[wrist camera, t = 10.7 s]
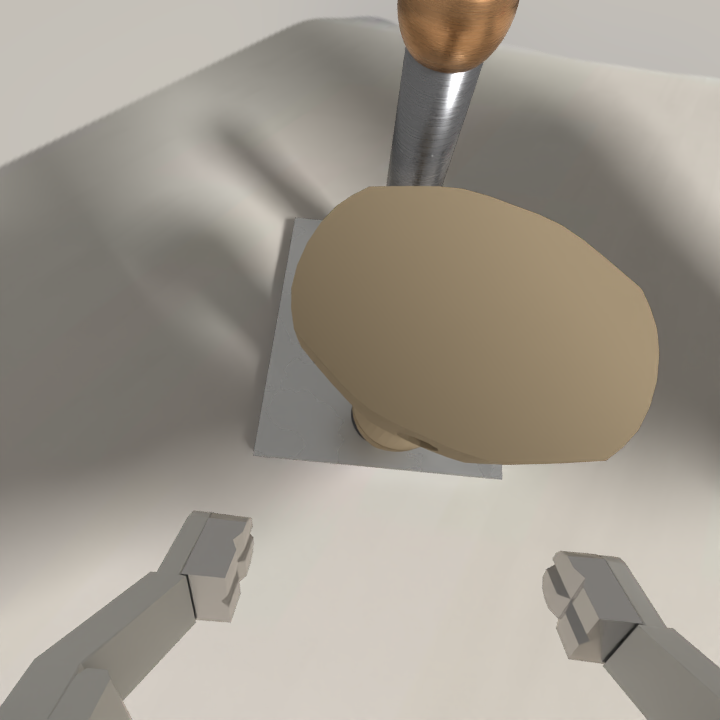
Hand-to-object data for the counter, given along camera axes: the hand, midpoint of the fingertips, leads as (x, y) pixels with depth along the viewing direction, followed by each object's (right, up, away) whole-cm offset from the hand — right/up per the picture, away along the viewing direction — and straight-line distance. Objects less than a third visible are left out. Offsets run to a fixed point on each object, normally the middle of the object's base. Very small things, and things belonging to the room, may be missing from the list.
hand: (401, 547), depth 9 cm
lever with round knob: (+1, +10, +14) cm, 17 cm away
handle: (0, +1, +11) cm, 11 cm away
